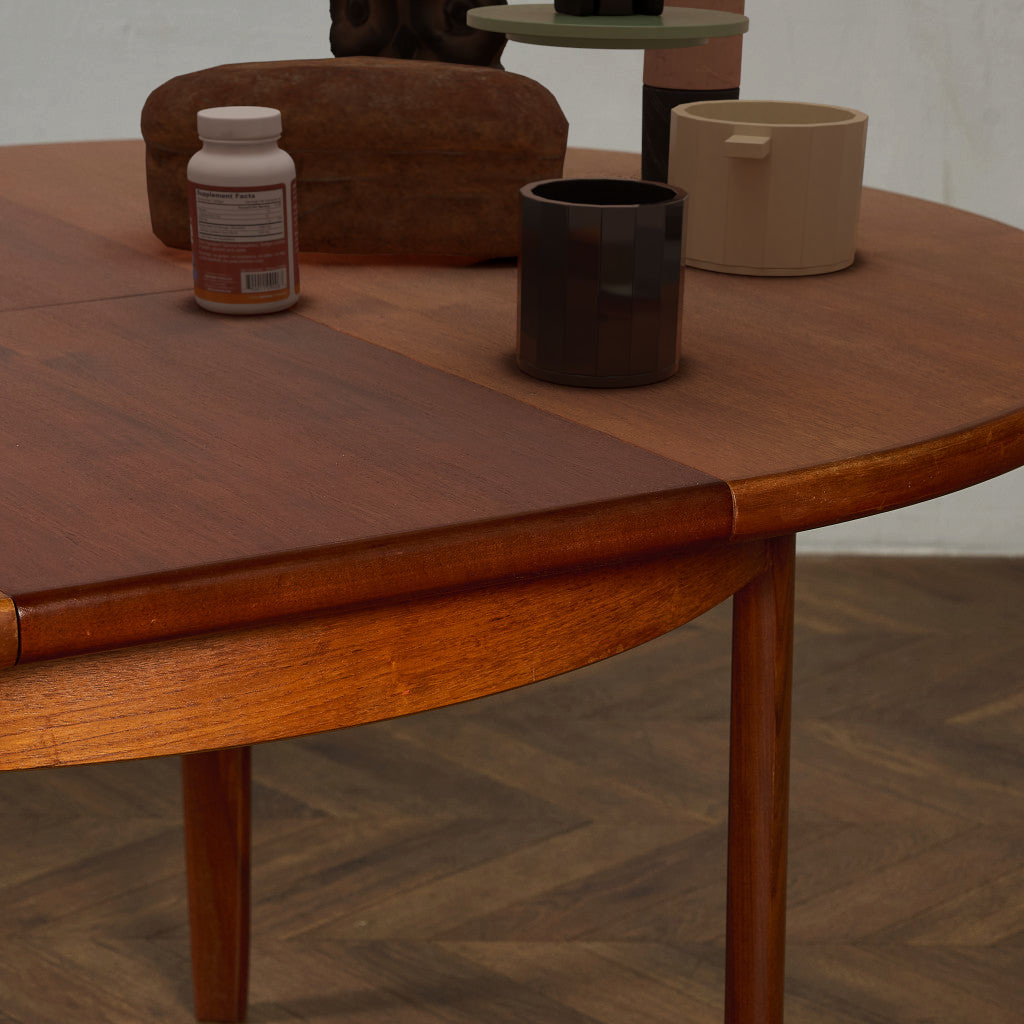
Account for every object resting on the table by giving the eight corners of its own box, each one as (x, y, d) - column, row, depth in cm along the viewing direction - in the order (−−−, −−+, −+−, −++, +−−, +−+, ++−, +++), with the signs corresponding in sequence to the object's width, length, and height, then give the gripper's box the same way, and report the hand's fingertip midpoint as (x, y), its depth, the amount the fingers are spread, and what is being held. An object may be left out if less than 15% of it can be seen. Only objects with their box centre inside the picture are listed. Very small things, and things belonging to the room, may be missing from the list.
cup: (708, 362, 86) (719, 190, 83) (618, 398, 80) (625, 214, 76) (579, 334, 91) (584, 171, 87) (484, 366, 84) (486, 192, 81)
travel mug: (639, 202, 128) (651, -69, 121) (636, 184, 135) (647, -72, 128) (737, 204, 128) (755, -67, 120) (728, 186, 135) (745, -70, 128)
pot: (868, 236, 117) (881, 101, 113) (835, 292, 101) (849, 136, 97) (695, 223, 120) (702, 91, 117) (637, 275, 104) (643, 124, 101)
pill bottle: (230, 287, 100) (221, 101, 96) (319, 297, 98) (314, 108, 93) (173, 309, 94) (161, 114, 90) (266, 321, 92) (258, 121, 88)
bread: (172, 223, 118) (161, 47, 113) (563, 229, 118) (567, 53, 113) (129, 265, 105) (115, 69, 100) (568, 272, 105) (573, 76, 100)
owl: (525, 196, 129) (530, -72, 122) (380, 209, 123) (375, -72, 116) (453, 172, 139) (454, -77, 132) (316, 182, 134) (308, -77, 126)
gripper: (482, -452, 66) (477, 22, 73) (829, -418, 72) (795, 18, 78) (421, -424, 72) (421, 9, 79) (744, -395, 78) (719, 6, 85)
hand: (608, 9), depth 79 cm, fingers closed on lid, 3 cm apart
